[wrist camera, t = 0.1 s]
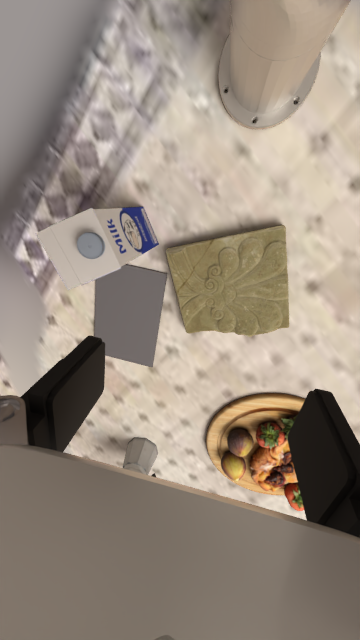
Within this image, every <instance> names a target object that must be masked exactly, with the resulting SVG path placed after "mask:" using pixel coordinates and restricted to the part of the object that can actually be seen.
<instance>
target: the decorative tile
mask: <svg viewBox="0 0 360 640" xmlns="http://www.w3.org/2000/svg"><path fill="white" fill-rule="evenodd" d="M166 255H167V260H168V264H169V268H170V272H171V276H172V280H173V284H174V288H175V292H176V294H177V299H178V304H179V307H180V311H181V315H182V319H183V322H184V326H185V329H186V332H187V333H194V332H200V331H218V332H222V333H228V332H235V333H236V334H238V335H245V336H248V337H251V336H253V335H258V334H264V333H269V332H272V331H275V330H277V329H279V328H288V327H289V302H288V274H287V252H286V228H285V226H284V225H280V226H275V227H270V228H265V229H260V230H255V231H250V232H245V233H240V234H235V235H230V236H225V237H221V238H216V239H211V240H205V241H200V242H196V243H190V244H186V245H181V246H176V247H171V248H167V249H166Z"/></svg>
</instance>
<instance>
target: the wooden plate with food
mask: <svg viewBox="0 0 360 640" xmlns="http://www.w3.org/2000/svg"><path fill="white" fill-rule="evenodd" d="M304 401H305V399H304V398H301V397H297V396H293V395H288V394H280V393H266V394H256V395H251V396H247V397H243V398H240V399H238V400H236V401H233V402H231V403H230V404H228V405H227V406H225V407H224V408H223V409H221V410H220V411H219V412H218V413H217V414H216V415H215V416H214V418H213V419H212V421H211V423H210V425H209V427H208V430H207V435H206V445H207V450H208V454H209V456H210V458H211V460H212V462H213V464H214V465H215V466H216V468H217V469H218V470H219V471H220V472H221V473H222V474H223V475H224V476H225V477H227V478H228V479H230V480H231V481H232V482H234V483H236V484H238V485H240V486H242V487H244V488H246V489H249V490H252V491H255V492H259V493H264V494H271V495H285V496H286V498H287V499H288V502H289V504H290V506H292V507H293V508H294V509H295V510H297V511H303V510H304V506H303V502H302V498H301V494H300V490H299V486H298V481H297V477H296V473H295V469H294V465H293V461H292V457H291V453H290V449H289V445H288V433H289V431H290V429H291V427H292V425H293V423H294V421H295V419H296V417H297V415H298V413H299V411H300V409H301V407H302V405H303V403H304Z"/></svg>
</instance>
